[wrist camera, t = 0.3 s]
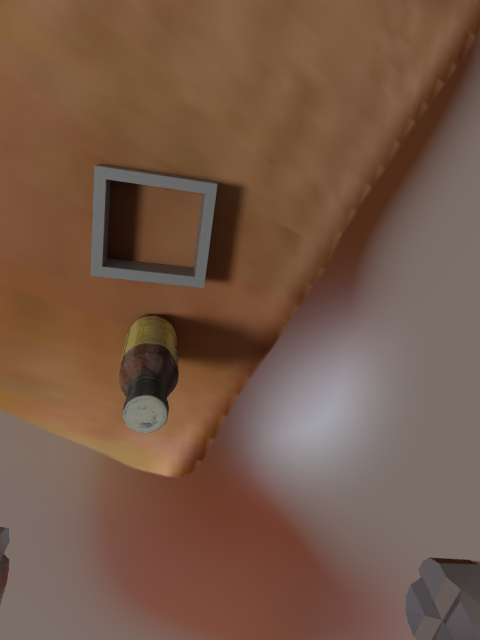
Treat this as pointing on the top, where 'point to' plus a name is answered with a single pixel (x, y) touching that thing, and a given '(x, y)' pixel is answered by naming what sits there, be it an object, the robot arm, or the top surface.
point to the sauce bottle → (148, 372)
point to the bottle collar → (143, 270)
